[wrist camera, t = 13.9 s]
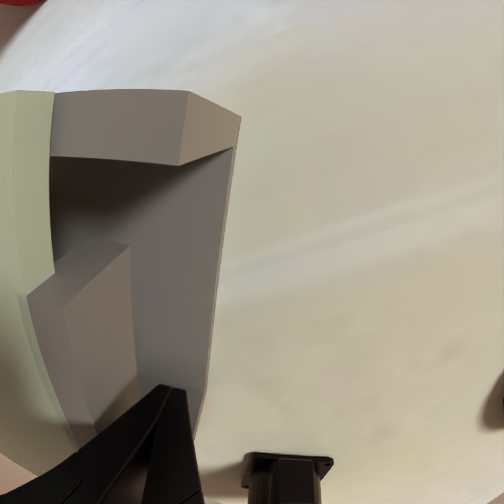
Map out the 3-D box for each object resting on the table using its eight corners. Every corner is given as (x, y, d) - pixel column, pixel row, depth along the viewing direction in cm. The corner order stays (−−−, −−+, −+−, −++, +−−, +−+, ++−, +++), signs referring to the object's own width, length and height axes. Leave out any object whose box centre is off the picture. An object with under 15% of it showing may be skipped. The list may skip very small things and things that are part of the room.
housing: (206, 391, 17) (178, 507, 10) (-9, 319, 17) (-68, 377, 10) (241, 116, 12) (189, 90, 4) (-32, 120, 12) (-126, 142, 4)
